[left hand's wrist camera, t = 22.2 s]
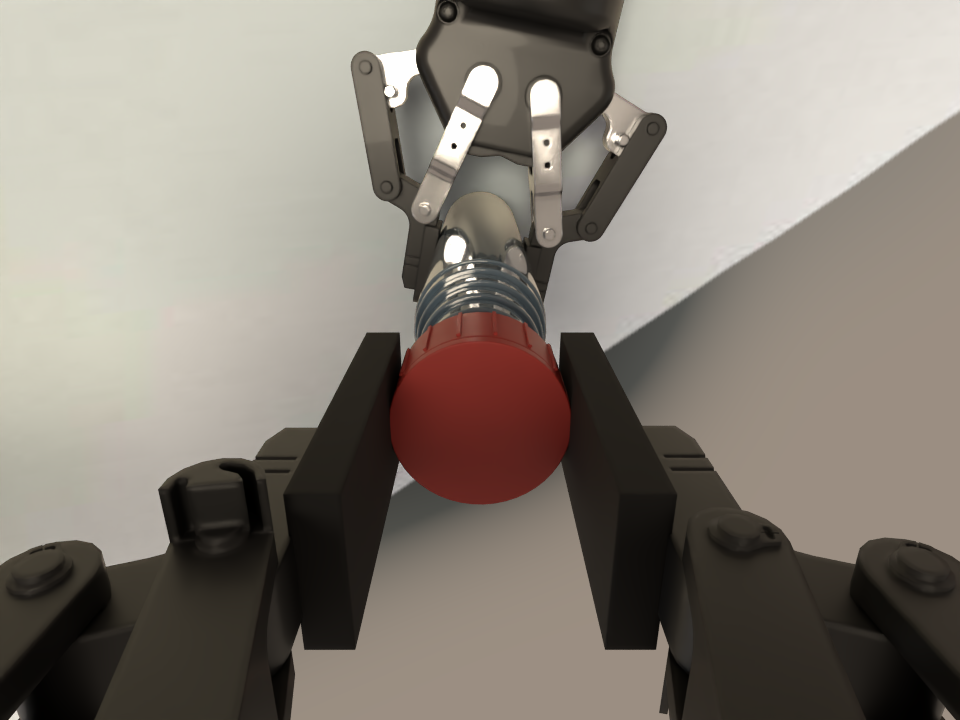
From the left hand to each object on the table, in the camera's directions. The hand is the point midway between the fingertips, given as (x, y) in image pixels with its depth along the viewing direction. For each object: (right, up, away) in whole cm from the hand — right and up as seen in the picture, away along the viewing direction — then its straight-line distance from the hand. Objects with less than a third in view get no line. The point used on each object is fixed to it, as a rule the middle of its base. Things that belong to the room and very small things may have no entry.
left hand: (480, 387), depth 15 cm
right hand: (0, +3, +15) cm, 16 cm away
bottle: (0, +8, +20) cm, 22 cm away
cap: (0, -1, -2) cm, 2 cm away
